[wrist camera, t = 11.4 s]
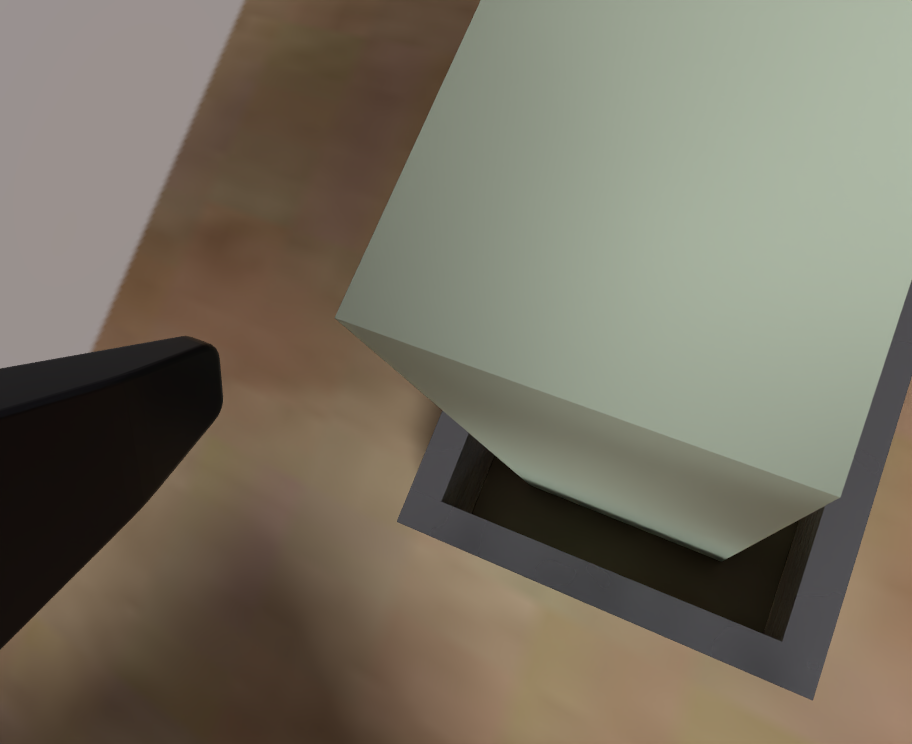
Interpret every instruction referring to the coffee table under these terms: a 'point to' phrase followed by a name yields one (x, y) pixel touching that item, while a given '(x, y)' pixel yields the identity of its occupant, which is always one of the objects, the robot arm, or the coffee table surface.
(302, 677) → the coffee table surface
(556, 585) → the square socket
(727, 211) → the sage block
